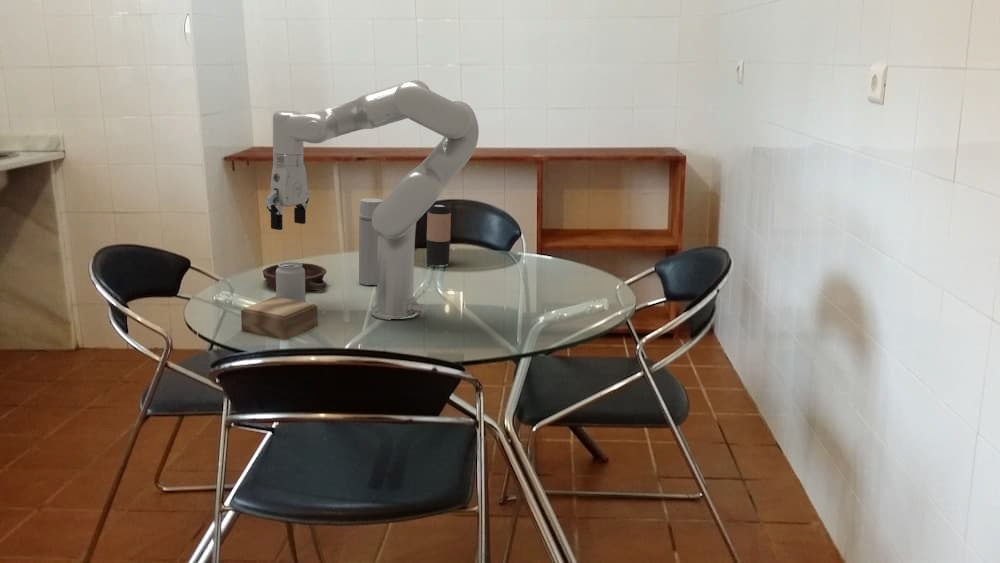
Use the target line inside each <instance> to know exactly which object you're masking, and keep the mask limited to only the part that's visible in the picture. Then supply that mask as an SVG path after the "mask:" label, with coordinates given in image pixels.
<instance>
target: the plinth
mask: <svg viewBox="0 0 1000 563" xmlns="http://www.w3.org/2000/svg"><path fill="white" fill-rule="evenodd" d="M318 308H319V307H318V305H315V303H313V302H306V301H305V302H302V301H297V300H292V299H286V298H281V297H276V296H273V297H270V298H267V299H265V300H262V301H260V302H257V303H254V304H251V305H249V306H247V307H244V308H243V309H242V310H241V311H240V318H241V319H240V320H241V331H245V332H248V333H253V334H258V335H263V336H269V337H272V338H276V339H281V340H288V339H290V338H292V337H294V336H296V335H298V334H302V333H303V332H306V331H308V330H310V329H311V328H314V327H316V326H318V321H319V318H318V316H319V314H318Z"/></svg>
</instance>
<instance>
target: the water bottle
mask: <svg viewBox="0 0 1000 563" xmlns="http://www.w3.org/2000/svg"><path fill="white" fill-rule="evenodd" d="M383 200H384V199H381V198H371V197H369V198H362V199H360V204H359V205H360V207H359V213H358V218H359V219H358V220H359V221H358V224H359V225H358V230H359V231H358V283H359V284H361V285H362V286H366V285H375V286H377V258H378V234H377V233H376V232H375V230H374V228H373V225H372V215H373V212H374V210H375V209H376V207H377V206H378V205H379V204H380V203H381V202H382V201H383Z"/></svg>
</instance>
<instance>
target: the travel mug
mask: <svg viewBox="0 0 1000 563" xmlns="http://www.w3.org/2000/svg"><path fill="white" fill-rule="evenodd" d="M426 217H427V218H426V265H427V264H429V265H445V264H448V263H450V248H451V229H452V228H451V225H452V224H451V219H452V205H451V204H450V203H445V202H434V204H433V205H432V206H431V207H430V208H429V209H428V210H427V216H426Z"/></svg>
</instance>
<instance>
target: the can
mask: <svg viewBox="0 0 1000 563" xmlns="http://www.w3.org/2000/svg"><path fill="white" fill-rule="evenodd" d="M301 263H302V262H298V261H285V262H284V261H283V262H280V263H278V264H277V265H278V266H279V267H278V268H277V269H276V288H275V292H276V297H281V298H286V299H292V300H297V301H302V302H306V291H305V269H304V268H303V267H302V264H301Z"/></svg>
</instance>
